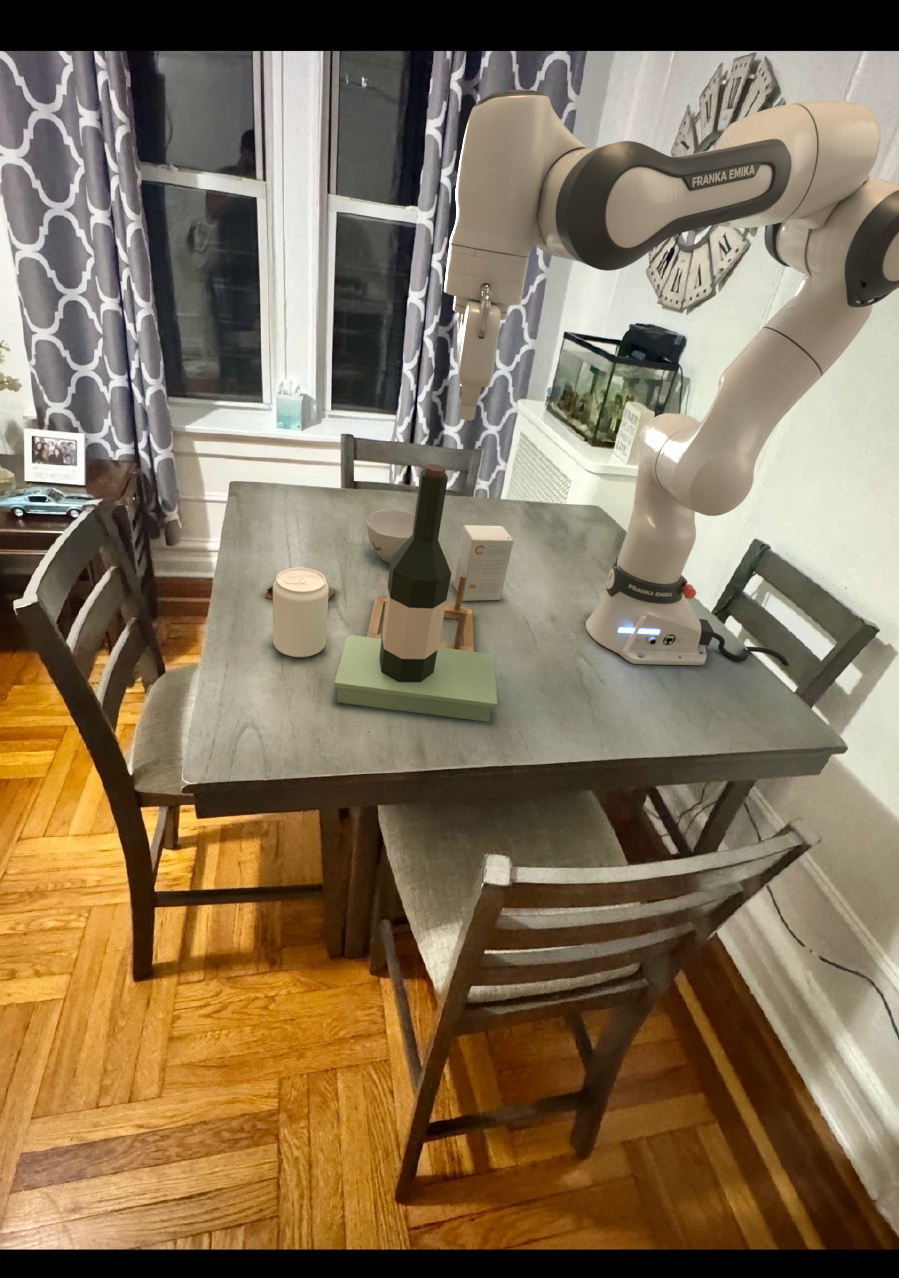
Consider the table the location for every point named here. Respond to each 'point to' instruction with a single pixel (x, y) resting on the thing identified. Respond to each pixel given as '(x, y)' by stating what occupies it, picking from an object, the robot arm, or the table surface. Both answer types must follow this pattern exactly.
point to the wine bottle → (417, 589)
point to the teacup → (389, 531)
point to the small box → (483, 561)
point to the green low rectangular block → (449, 691)
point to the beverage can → (300, 612)
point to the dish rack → (456, 612)
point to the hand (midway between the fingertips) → (465, 408)
